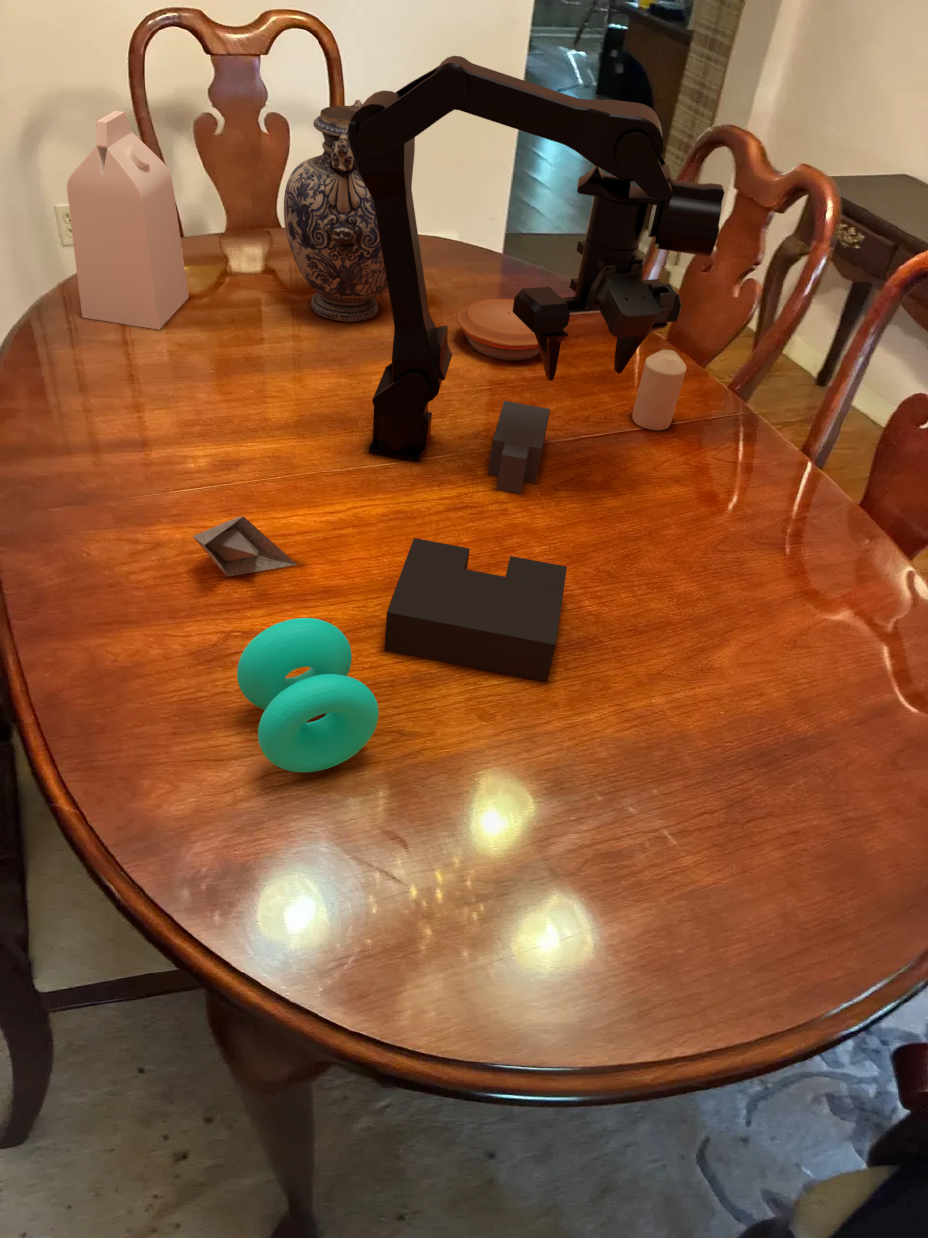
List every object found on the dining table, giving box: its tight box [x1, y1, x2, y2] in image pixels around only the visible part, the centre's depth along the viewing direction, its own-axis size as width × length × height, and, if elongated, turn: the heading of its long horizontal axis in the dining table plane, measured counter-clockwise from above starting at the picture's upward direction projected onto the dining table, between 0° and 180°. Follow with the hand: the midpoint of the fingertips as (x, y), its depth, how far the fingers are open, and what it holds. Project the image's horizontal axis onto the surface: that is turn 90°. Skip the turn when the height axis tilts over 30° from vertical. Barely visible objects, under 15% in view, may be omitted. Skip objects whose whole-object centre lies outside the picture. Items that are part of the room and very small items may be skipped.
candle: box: [631, 349, 687, 431], centre depth 126 cm, size 6×6×10 cm
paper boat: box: [192, 516, 298, 578], centre depth 94 cm, size 12×6×9 cm
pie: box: [456, 298, 540, 362], centre depth 141 cm, size 16×16×5 cm
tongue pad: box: [487, 400, 551, 495], centre depth 115 cm, size 6×13×5 cm, turn 170°
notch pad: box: [384, 537, 568, 683], centre depth 92 cm, size 16×12×5 cm
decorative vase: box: [283, 99, 389, 323], centre depth 137 cm, size 21×19×28 cm
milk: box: [66, 110, 190, 331], centre depth 130 cm, size 12×12×26 cm
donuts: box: [236, 617, 380, 773], centre depth 77 cm, size 10×10×10 cm
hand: (584, 375), depth 108 cm, fingers open, 9 cm apart
